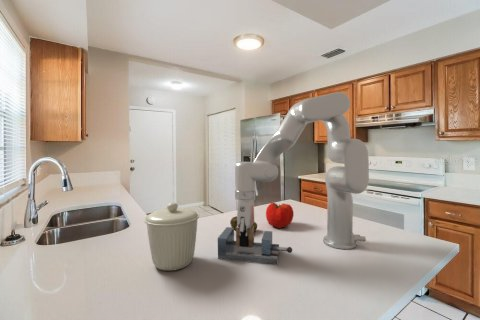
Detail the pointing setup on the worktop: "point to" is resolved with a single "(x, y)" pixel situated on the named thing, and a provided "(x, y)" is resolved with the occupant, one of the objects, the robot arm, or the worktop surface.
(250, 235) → the walnut block
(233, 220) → the potato
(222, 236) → the vise bed
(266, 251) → the sliding jaw
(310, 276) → the worktop surface
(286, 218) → the tomato
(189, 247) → the canister
